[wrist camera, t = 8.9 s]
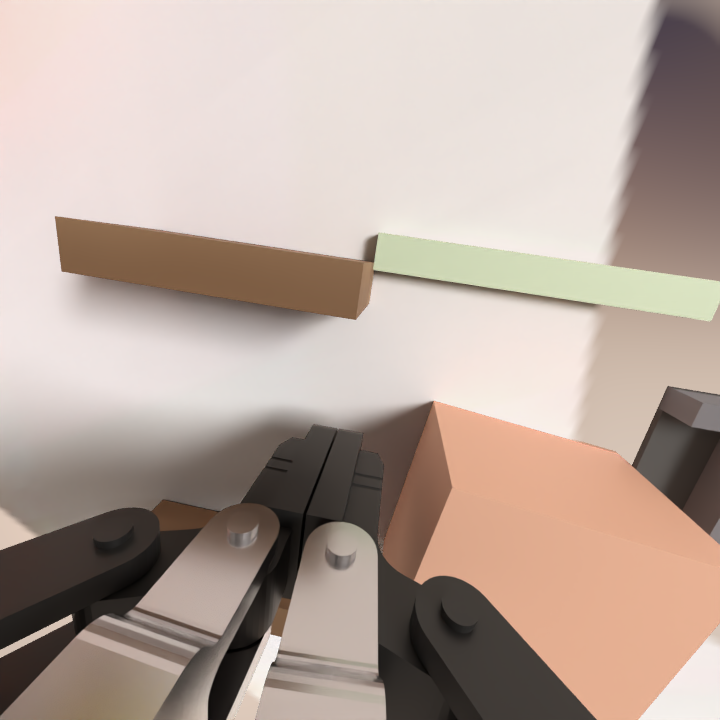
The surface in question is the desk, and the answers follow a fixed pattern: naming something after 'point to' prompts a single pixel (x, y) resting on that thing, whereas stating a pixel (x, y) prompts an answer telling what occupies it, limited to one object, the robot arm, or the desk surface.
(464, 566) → the block
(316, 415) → the desk surface
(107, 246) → the pair of brown bars
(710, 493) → the pit
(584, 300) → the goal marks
